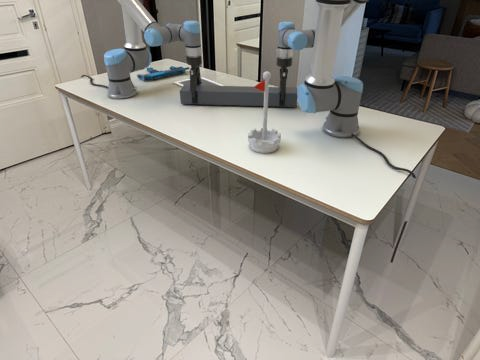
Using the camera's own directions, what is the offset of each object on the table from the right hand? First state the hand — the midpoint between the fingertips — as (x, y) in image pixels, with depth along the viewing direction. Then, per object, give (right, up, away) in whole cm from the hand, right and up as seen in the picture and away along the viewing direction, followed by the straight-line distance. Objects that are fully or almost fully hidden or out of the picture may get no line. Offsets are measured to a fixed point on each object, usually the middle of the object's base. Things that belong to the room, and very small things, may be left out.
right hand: (281, 101), depth 176 cm
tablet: (-45, +16, +28) cm, 55 cm away
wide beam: (-22, 0, +2) cm, 22 cm away
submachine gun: (-73, +30, +49) cm, 93 cm away
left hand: (-44, +2, +3) cm, 45 cm away
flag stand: (-12, -27, -38) cm, 48 cm away
